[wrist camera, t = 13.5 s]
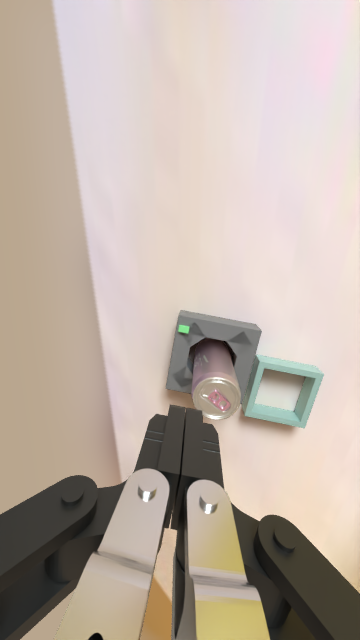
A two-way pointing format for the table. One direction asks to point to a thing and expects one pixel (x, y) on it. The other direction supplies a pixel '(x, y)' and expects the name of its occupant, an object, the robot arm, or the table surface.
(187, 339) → the port
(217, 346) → the beverage can
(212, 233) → the table surface
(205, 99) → the table surface
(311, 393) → the teal square frame
